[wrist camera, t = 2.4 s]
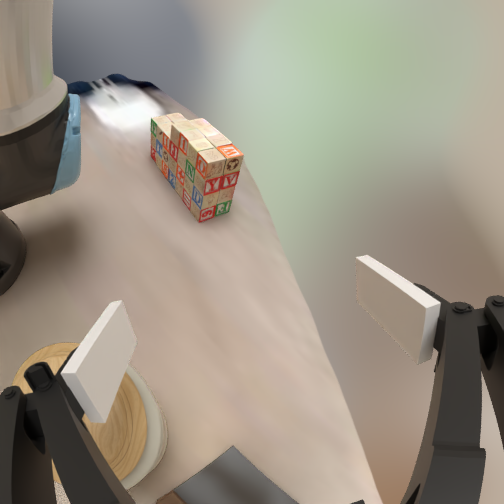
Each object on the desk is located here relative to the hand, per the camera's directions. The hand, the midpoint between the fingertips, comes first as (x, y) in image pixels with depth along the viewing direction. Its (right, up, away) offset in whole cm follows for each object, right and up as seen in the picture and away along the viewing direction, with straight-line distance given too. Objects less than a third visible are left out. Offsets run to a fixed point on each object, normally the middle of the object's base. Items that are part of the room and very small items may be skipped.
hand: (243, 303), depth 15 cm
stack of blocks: (-12, +16, +38) cm, 42 cm away
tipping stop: (0, -27, +6) cm, 28 cm away
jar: (-15, -17, +10) cm, 25 cm away
